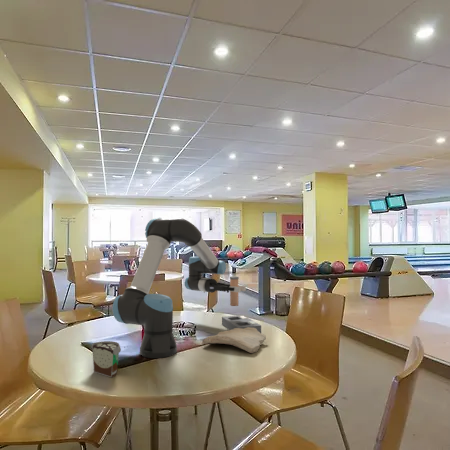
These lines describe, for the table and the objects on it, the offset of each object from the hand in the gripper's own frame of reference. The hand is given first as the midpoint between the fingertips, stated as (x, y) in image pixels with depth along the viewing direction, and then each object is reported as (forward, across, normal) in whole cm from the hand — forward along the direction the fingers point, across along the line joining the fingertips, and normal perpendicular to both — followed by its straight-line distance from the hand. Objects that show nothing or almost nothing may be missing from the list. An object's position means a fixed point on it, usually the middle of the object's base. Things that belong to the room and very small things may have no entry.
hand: (242, 289), depth 190 cm
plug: (-5, 0, -9) cm, 10 cm away
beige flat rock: (+14, +26, -21) cm, 36 cm away
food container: (-5, +78, -20) cm, 81 cm away
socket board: (0, +2, -20) cm, 20 cm away
